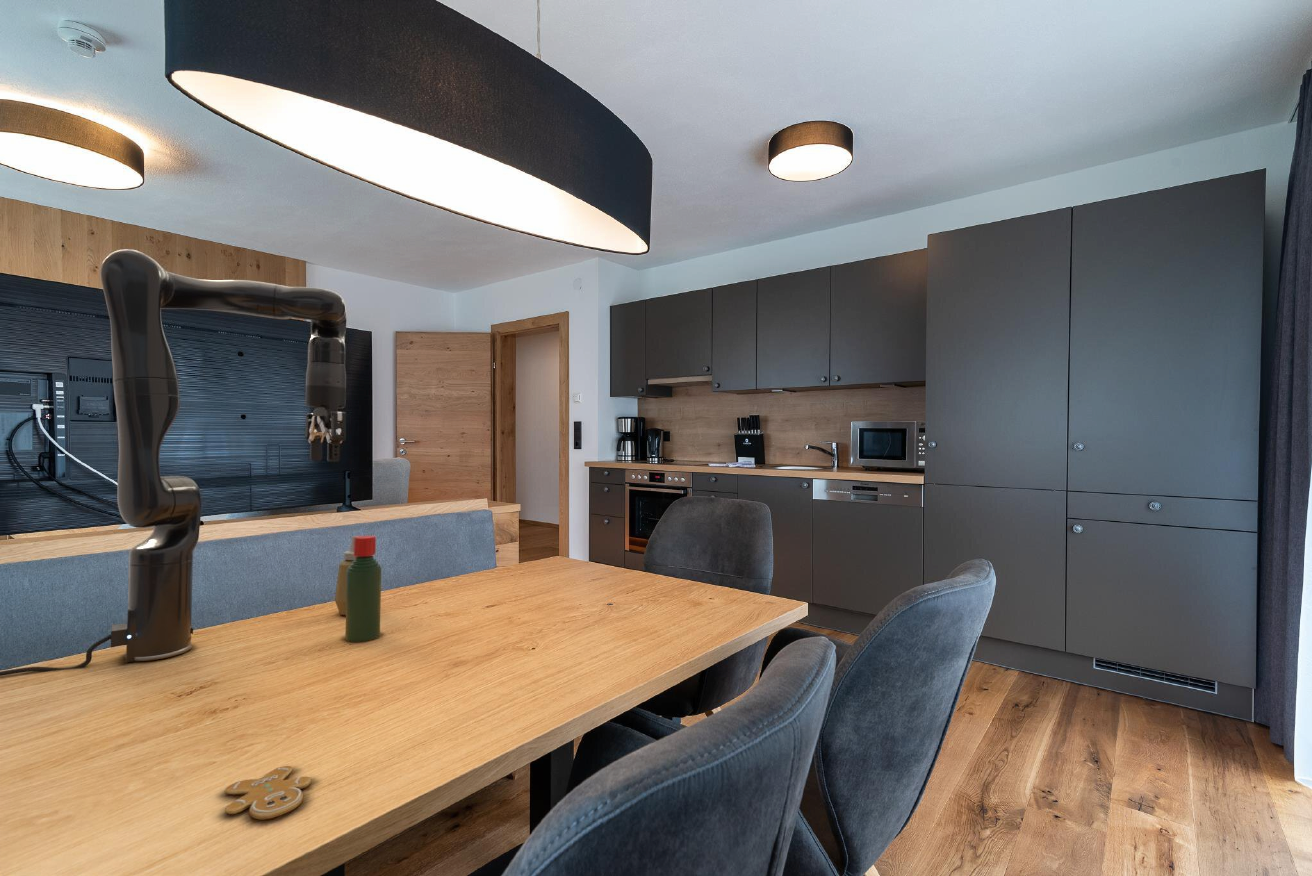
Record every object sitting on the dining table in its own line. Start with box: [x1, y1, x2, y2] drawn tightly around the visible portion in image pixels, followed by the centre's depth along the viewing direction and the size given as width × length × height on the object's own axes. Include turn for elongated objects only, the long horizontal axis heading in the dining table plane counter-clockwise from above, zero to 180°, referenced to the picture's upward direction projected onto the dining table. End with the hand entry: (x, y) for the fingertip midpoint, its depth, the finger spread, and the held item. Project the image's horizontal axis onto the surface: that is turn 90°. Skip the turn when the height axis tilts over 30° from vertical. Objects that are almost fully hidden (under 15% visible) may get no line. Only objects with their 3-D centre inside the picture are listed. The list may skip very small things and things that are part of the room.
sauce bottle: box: [344, 555, 382, 643], centre depth 120 cm, size 6×6×20 cm
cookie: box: [224, 765, 312, 820], centre depth 65 cm, size 8×1×10 cm
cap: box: [354, 535, 377, 557], centre depth 120 cm, size 4×4×4 cm
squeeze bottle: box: [334, 535, 358, 616], centre depth 137 cm, size 8×8×18 cm
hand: (324, 461), depth 124 cm, fingers open, 8 cm apart
